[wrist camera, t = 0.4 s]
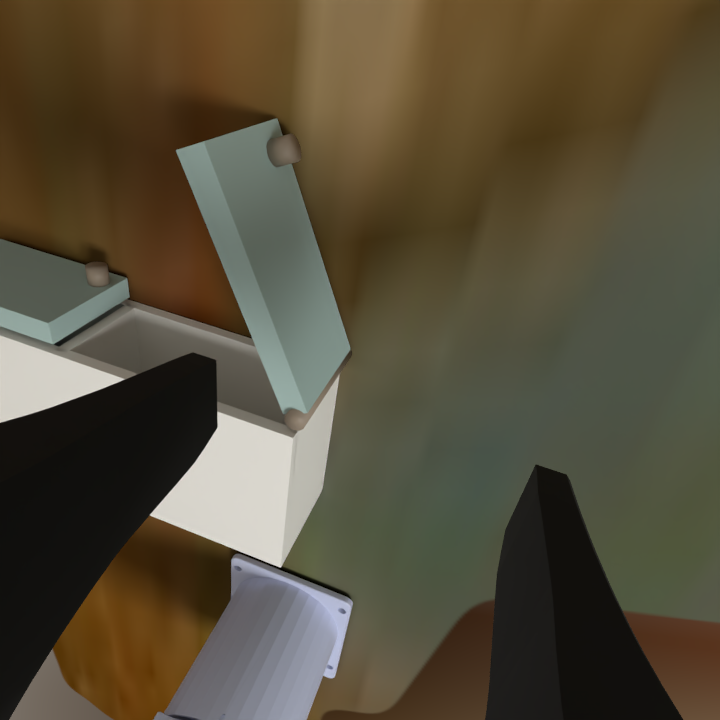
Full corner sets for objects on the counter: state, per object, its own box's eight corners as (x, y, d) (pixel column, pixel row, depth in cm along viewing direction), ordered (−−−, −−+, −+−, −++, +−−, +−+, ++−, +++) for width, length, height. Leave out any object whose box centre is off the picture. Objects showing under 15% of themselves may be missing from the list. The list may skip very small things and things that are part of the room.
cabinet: (322, 489, 28) (280, 567, 24) (38, 385, 31) (-40, 439, 27) (347, 326, 22) (297, 393, 18) (-5, 220, 25) (-112, 257, 21)
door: (335, 360, 23) (286, 431, 19) (255, 124, 19) (171, 151, 15) (373, 357, 22) (330, 429, 18) (299, 111, 18) (222, 135, 14)
